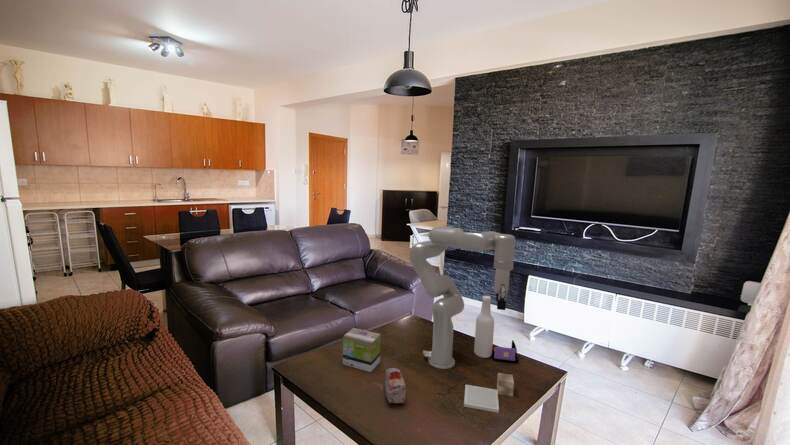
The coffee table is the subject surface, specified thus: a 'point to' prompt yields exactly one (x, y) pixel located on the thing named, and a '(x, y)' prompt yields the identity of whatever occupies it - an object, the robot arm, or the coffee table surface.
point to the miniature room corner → (505, 354)
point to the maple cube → (505, 384)
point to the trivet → (481, 398)
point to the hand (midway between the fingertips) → (500, 305)
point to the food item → (394, 386)
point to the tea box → (361, 349)
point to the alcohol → (484, 330)
